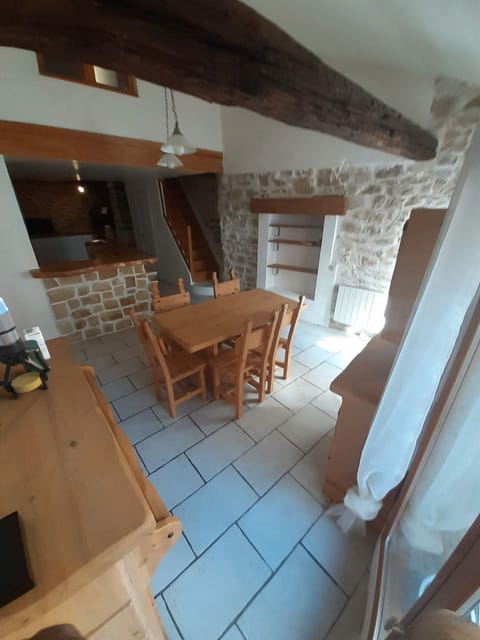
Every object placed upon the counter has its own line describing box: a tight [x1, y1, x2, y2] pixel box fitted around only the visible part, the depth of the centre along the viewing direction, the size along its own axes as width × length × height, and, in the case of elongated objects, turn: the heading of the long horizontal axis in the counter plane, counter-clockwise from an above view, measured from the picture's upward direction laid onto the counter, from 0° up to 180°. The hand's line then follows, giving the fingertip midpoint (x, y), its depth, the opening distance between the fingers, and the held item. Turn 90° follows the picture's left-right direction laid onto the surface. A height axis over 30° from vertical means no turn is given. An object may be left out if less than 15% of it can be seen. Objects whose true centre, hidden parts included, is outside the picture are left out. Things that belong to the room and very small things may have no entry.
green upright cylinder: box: [21, 340, 49, 375], centre depth 102 cm, size 7×7×14 cm
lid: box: [11, 372, 43, 394], centre depth 93 cm, size 9×8×3 cm
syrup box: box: [22, 326, 51, 361], centre depth 111 cm, size 6×6×14 cm
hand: (32, 392), depth 95 cm, fingers closed on lid, 8 cm apart
